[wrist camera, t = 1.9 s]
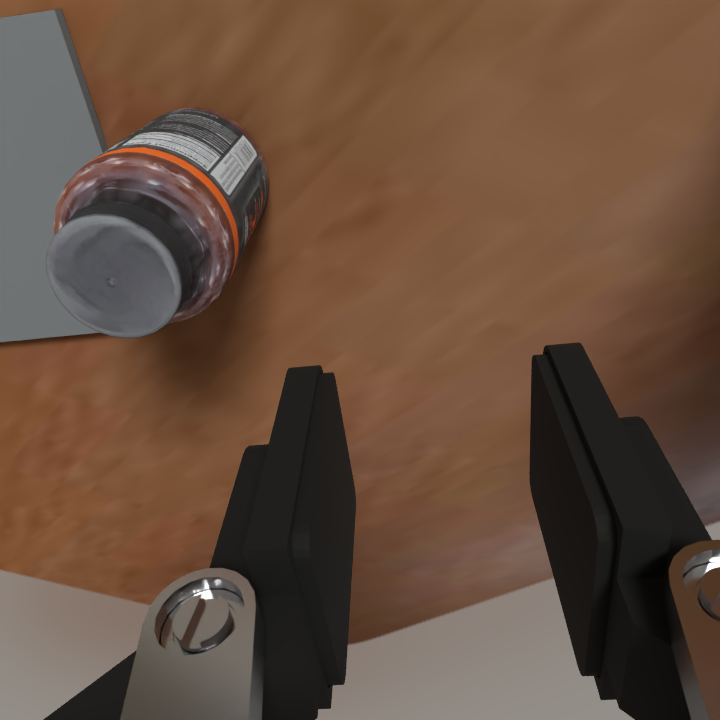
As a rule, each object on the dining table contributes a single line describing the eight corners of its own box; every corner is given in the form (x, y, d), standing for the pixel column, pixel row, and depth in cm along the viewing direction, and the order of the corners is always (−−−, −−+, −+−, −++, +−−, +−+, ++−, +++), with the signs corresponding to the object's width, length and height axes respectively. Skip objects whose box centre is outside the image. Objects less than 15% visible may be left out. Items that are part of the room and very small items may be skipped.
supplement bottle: (240, 259, 30) (171, 398, 21) (120, 198, 29) (-13, 316, 19) (295, 149, 27) (244, 249, 18) (165, 74, 26) (34, 140, 16)
